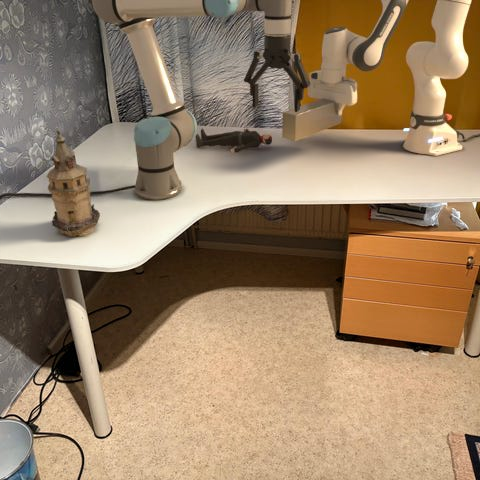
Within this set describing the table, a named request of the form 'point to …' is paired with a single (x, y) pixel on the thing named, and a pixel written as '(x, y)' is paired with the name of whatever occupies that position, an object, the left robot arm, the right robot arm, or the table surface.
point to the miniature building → (70, 193)
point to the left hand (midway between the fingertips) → (276, 108)
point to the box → (310, 119)
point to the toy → (234, 140)
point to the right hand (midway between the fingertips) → (330, 113)
